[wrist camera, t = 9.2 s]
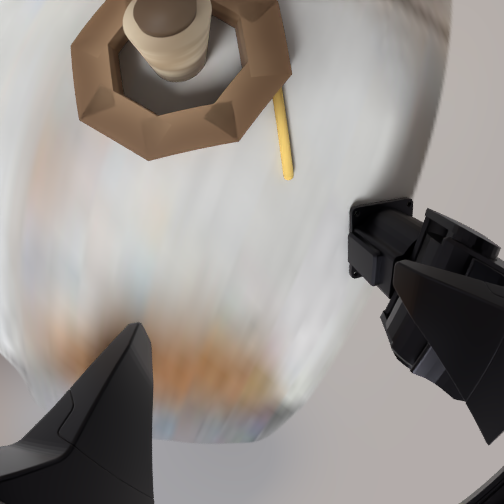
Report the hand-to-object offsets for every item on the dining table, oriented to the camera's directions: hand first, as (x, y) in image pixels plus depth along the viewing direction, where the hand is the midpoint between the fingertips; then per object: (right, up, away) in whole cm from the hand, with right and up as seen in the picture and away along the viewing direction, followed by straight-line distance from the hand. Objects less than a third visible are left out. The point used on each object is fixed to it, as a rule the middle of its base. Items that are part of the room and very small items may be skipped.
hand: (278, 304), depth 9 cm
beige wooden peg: (-6, +14, +6) cm, 16 cm away
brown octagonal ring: (-6, +14, +6) cm, 16 cm away
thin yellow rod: (+1, +10, +9) cm, 14 cm away
